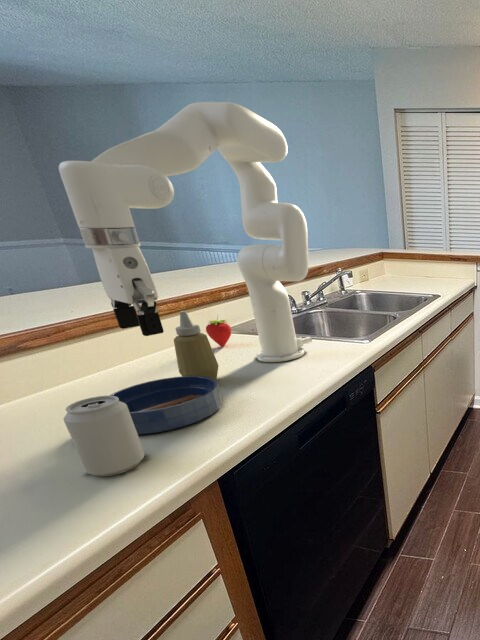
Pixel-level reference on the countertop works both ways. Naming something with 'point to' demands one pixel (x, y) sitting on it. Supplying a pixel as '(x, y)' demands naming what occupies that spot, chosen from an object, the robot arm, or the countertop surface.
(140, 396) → the bowl
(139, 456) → the can
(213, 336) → the strawberry
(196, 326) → the squeeze bottle
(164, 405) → the stirring stick
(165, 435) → the countertop surface
